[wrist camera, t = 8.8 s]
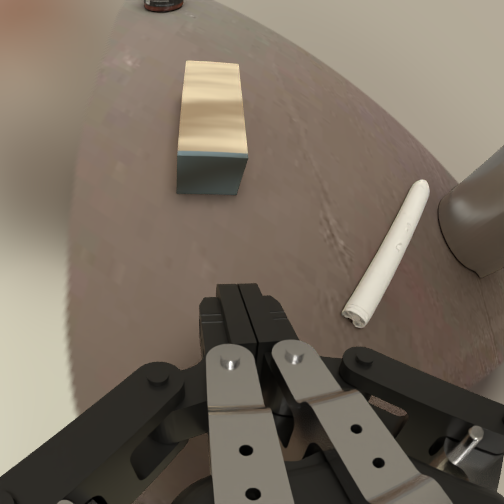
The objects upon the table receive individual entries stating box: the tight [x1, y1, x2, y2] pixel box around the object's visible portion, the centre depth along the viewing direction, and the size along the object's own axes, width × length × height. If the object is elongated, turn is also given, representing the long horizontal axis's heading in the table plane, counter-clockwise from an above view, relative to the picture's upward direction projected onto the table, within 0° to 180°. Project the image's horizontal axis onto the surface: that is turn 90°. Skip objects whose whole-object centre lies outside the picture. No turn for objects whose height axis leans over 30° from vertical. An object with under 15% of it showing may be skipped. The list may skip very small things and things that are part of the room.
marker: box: [342, 180, 429, 328], centre depth 25 cm, size 18×2×2 cm, turn 142°
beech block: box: [177, 61, 248, 195], centre depth 23 cm, size 4×4×11 cm
